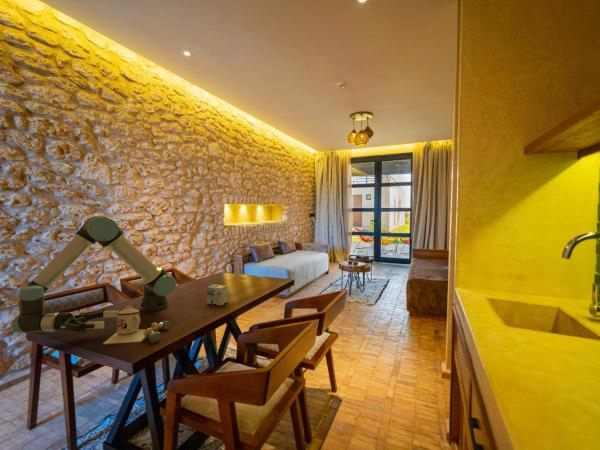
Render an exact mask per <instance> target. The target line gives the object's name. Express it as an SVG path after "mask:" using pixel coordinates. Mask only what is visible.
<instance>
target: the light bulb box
mask: <svg viewBox="0 0 600 450" xmlns="http://www.w3.org/2000/svg"><path fill="white" fill-rule="evenodd" d="M206 288H207V289H206V291H207V293H206V294H207V296H206V297H207V298H206V299H207V301H206V303H208V304H209V305H214V304H216V305H215V306H223V305H225V304H227V303H228V285H224V284H223V285H222V284H211V285H209V286H207V287H206ZM226 302H227V303H226ZM224 303H225V304H224Z"/></svg>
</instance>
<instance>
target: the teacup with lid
mask: <svg viewBox="0 0 600 450" xmlns="http://www.w3.org/2000/svg"><path fill="white" fill-rule="evenodd" d="M140 312H141V310H140V309H136V308H135V307H132V305H127V306H126V308H123V309H122V310H119V312H118V314H117V315H118V317H117V321H116V322H117V323H116V332H117V333H119V334H126V333H132V332H136V331H138V330H139V329H140V328H139V326H140V323H141V317H140Z"/></svg>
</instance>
